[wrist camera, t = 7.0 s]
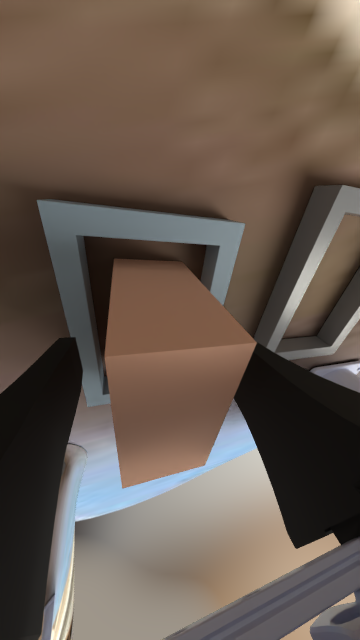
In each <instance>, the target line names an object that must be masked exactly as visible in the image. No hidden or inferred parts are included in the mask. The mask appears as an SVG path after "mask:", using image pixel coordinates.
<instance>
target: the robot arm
mask: <svg viewBox="0 0 360 640" xmlns="http://www.w3.org/2000/svg"><path fill="white" fill-rule="evenodd" d="M359 371H360V361H355V362H348V363H342V364H335V365H329V366H322V367H316V368H313V369H312V370H311V371H308V370H306V369H304V368H302V367H300V366H298V365H296V364H294V363H292V362H290V361H289V360H287V359H285V358H283V357H281V356H280V355H278V354H276V353H274V352H273V351H271V350H269V349H268V348H266V347H264V346H263V345H261V344H259V343H258V342H257V344H256V346H255V348H254V351H253V353H252V355H251V358H250V360H249V362H248V365H247V367H246V370H245V372H244V374H243V377H242V379H241V381H240V384H239V386H238V388H237V391H236V393H235V395H234V399H235V401H236V403H237V405H238V407H239V408H240V410H241V412H242V414H243V416H244V418H245V420H246V422H247V425H248V427H249V429H250V431H251V434H252V436H253V438H254V441H255V443H256V446H257V448H258V451H259V453H260V455H261V458H262V460H263V463H264V466H265V468H266V471H267V474H268V477H269V479H270V482H271V484H272V487H273V490H274V493H275V496H276V499H277V502H278V505H279V508H280V511H281V514H282V517H283V520H284V524H285V527H286V530H287V533H288V535H289V537H290V539H291V541H292V543H293V545H294V546H295V548H296V549H298V548H300V547H302V546H304V545H307V544H309V543H311V542H314V541H316V540H318V539H320V538H323V537H325V536H327V535H329V534H331V533H334V535H335V536H336V538H337V539H338V541H339V543H340V544H341V546H338V547H337V548H335V549H333V550H331V551H329V552H327V553H325V554H323V555H321V556H319V557H317V558H316V559H314V560H312V561H310V562H308V563H306V564H304V565H302V566H300V567H299V568H297V569H295V570H293V571H291V572H289V573H287V574H285V575H284V576H281V577H280V578H278V579H276V580H274V581H272V582H270V583H268V584H266V585H264V586H263V587H261V588H259V589H257V590H255V591H253V592H251V593H249V594H247V595H245V596H243V597H242V598H240V599H238V600H236V601H234V602H232V603H230V604H228V605H226V606H225V607H223V608H221V609H219V610H217V611H215V612H213V613H211V614H209V615H207V616H206V617H204V618H202V619H200V620H198V621H196V622H194V623H192V624H190V625H188V626H186V627H185V628H183V629H181V630H179V631H177V632H175V633H173V634H171V635H170V636H168V637H166V638H164V639H162V640H280V639H281V638H283V637H284V636H286V635H287V634H289V633H291V632H292V631H294V630H295V629H297V628H298V627H300V626H302V625H303V624H305V623H306V622H308V621H309V620H311V619H313V618H314V617H316V616H317V615H319V614H320V613H321V615H320V616H319V617H318V618H317V619H316V621H315V622H314V623H313V624H312V626H311V627H310V634H311V636H312V638H313V640H360V377H358V376H357V375H356V374H357V373H358V372H359ZM82 377H83V368H82V363H81V359H80V355H79V350H78V346H77V342H76V337H69V338H59V339H58V340H57V341H56V342H55V343H54V344H53V345H52V346H51V347H50V348H49V349H48V350H47V351H46V352H45V353H44V354H43V355H42V356H41V357H40V358H39V359H38V360H37V361H36V362H35V363H34V364H33V365H31V366H30V367H29V368H28V369H27V370H26V371H25V372H24V373H23V374H22V375H21V376H20V377H19V378H18V379H17V380H16V381H15V382H13V383H12V384H11V385H10V386H9V387H8V388H7V389H6V390H4V391H3V392H2V393H1V394H0V640H38V639H39V637H40V635H41V633H42V623H43V613H44V604H45V595H46V587H47V578H48V569H49V561H50V553H51V545H52V537H53V530H54V522H55V515H56V508H57V501H58V494H59V488H60V481H61V475H62V469H63V462H64V457H65V453H66V448H67V444H68V440H69V436H70V432H71V428H72V424H73V420H74V416H75V413H76V409H77V405H78V401H79V397H80V392H81V385H82ZM353 592H354V594H355V597H356V602H352V603H347V604H342V605H338V606H334V607H332V608H330V607H331V606H333V605H334V604H336V603H337V602H339V601H341V600H342V599H344V598H345V597H347V596H348V595H350V594H351V593H353ZM328 608H329V609H328ZM323 611H324V612H323ZM322 612H323V613H322Z"/></svg>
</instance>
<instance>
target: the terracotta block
mask: <svg viewBox="0 0 360 640" xmlns="http://www.w3.org/2000/svg"><path fill="white" fill-rule="evenodd" d="M256 344H257V342H256V341H255V340H254V339H253V338H252V337H251V336H250V335H249V334H248V333H247V332H246V330H245V329H244V328H243V327H242V326H241V325H240V324H239V323H238V322H237V321H236V320H235V319H234V317H233V316H232V315H231V314H230V313H229V312H228V311H227V310H226V309H225V308H224V307H223V306H222V304H221V303H220V302H219V301H218V300H217V299H216V298H215V297H214V296H213V295H212V294H211V293H210V291H209V290H208V289H207V288H206V287H205V286H204V285H203V284H202V283H201V282H200V281H199V280H198V278H197V277H196V276H195V275H194V274H193V273H192V272H191V271H190V270H189V269H188V268H187V267H186V265H185V264H184V263H183V262H181V261H158V260H135V259H114V264H113V274H112V284H111V295H110V305H109V316H108V326H107V336H106V347H105V364H106V372H107V379H108V386H109V394H110V401H111V408H112V416H113V423H114V430H115V438H116V445H117V452H118V460H119V467H120V474H121V482H122V488H126V487H130V486H133V485H137V484H140V483H144V482H147V481H151V480H154V479H158V478H161V477H165V476H168V475H172V474H176V473H179V472H183V471H186V470H190V469H193V468H197V467H200V466H204V465H205V464H206V461H207V459H208V457H209V454H210V452H211V449H212V447H213V445H214V442H215V440H216V438H217V435H218V433H219V431H220V428H221V426H222V424H223V421H224V419H225V417H226V414H227V412H228V410H229V407H230V405H231V402H232V400H233V398H234V395H235V393H236V391H237V388H238V386H239V384H240V381H241V379H242V377H243V374H244V372H245V370H246V367H247V365H248V362H249V360H250V358H251V355H252V353H253V351H254V348H255V346H256Z"/></svg>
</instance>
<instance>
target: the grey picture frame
mask: <svg viewBox="0 0 360 640" xmlns="http://www.w3.org/2000/svg"><path fill="white" fill-rule="evenodd" d="M37 204H38V208H39V212H40V216H41V220H42V224H43V228H44V232H45V236H46V240H47V244H48V248H49V252H50V256H51V260H52V264H53V268H54V272H55V276H56V280H57V284H58V288H59V292H60V297H61V301H62V305H63V309H64V313H65V317H66V321H67V325H68V329H69V333H70V337H76V342H77V346H78V350H79V355H80V359H81V363H82V368H83V377H82V385H83V389H84V393H85V397H86V401H87V405H88V407H91V406H97V405H103V404H110V403H111V401H110V394H109V386H108V379H107V376H106V377H104V372H103V365H102V358H101V352H100V345H99V338H98V331H97V325H96V318H95V311H94V305H93V298H92V291H91V284H90V278H89V271H88V264H87V257H86V251H85V244H84V237H83V236H95V237H109V238H122V239H136V240H150V241H164V242H177V243H191V244H205V245H207V248H206V253H205V259H204V264H203V270H202V275H201V281H200V282H201V283H202V284H203V285H204V286H205V287H206V288H207V289H208V290H209V291H210V293H211V294H212V295H213V296H214V297H215V298H216V299H217V300H218V301H219V302H220V303H221V304H222V306H223V305H224V301H225V298H226V294H227V290H228V286H229V283H230V279H231V275H232V271H233V268H234V264H235V260H236V256H237V253H238V249H239V245H240V241H241V238H242V234H243V230H244V227H245V223H240V222H236V221H232V220H225V219H217V218H208V217H199V216H191V215H182V214H174V213H165V212H157V211H148V210H139V209H131V208H122V207H114V206H105V205H97V204H88V203H79V202H71V201H62V200H54V199H44V200H37Z"/></svg>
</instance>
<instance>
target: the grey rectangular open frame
mask: <svg viewBox="0 0 360 640" xmlns="http://www.w3.org/2000/svg"><path fill="white" fill-rule="evenodd" d="M344 214H347V215H354V216H360V188H355V187H351V186H346V185H327V186H315V188H314V190H313V193H312V195H311V198H310V200H309V203H308V205H307V208H306V210H305V213H304V215H303V217H302V220H301V222H300V225H299V227H298V230H297V232H296V235H295V237H294V240H293V242H292V245H291V247H290V249H289V252H288V254H287V257H286V259H285V262H284V264H283V267H282V269H281V272H280V274H279V277H278V279H277V281H276V284H275V286H274V289H273V291H272V294H271V296H270V299H269V301H268V304H267V306H266V309H265V311H264V313H263V316H262V318H261V321H260V323H259V326H258V328H257V331H256V333H255V336H254V338H253V339H254V340H255V341H256V342H258V343H259V344H261V345H263V346H264V347H266V348H268V349H269V350H271V351H273V352H274V353H276V354H278V355H280V356H281V357H283V358H285V359H287V360H293V359H301V358H309V357H316V356H324V355H332V354H334V353H335V351H336V350H337V348H338V347H339V346H340V344H341V343H342V342H343V340H344V339H345V338H346V336H347V335H348V334H349V332H350V331H351V329H352V328H353V327H354V325H355V324H356V323H357V321H358V320H359V319H360V267H359V269H358V271H357V272H356V274H355V275H354V277H353V279H352V280H351V282H350V283H349V285H348V287H347V288H346V290H345V291H344V293H343V295H342V296H341V298H340V299H339V301H338V303H337V304H336V306H335V307H334V309H333V311H332V312H331V314H330V315H329V317H328V318H327V320H326V322H325V323H324V325H323V326H322V328H321V330H320V331H319V333H318V334H317V336H313V337H302V338H291V339H281V338H282V336H283V335H284V333H285V331H286V329H287V327H288V325H289V323H290V321H291V319H292V317H293V315H294V313H295V311H296V309H297V307H298V305H299V303H300V301H301V299H302V297H303V295H304V293H305V291H306V289H307V287H308V285H309V283H310V281H311V279H312V277H313V275H314V273H315V271H316V269H317V267H318V266H319V264H320V262H321V260H322V258H323V256H324V254H325V252H326V250H327V248H328V246H329V244H330V242H331V240H332V238H333V236H334V234H335V232H336V230H337V228H338V226H339V224H340V222H341V220H342V218H343V216H344Z"/></svg>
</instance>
